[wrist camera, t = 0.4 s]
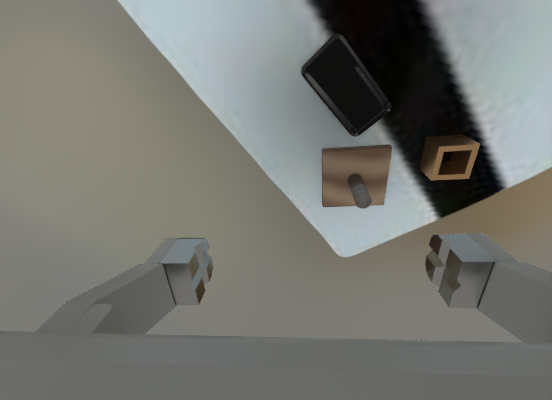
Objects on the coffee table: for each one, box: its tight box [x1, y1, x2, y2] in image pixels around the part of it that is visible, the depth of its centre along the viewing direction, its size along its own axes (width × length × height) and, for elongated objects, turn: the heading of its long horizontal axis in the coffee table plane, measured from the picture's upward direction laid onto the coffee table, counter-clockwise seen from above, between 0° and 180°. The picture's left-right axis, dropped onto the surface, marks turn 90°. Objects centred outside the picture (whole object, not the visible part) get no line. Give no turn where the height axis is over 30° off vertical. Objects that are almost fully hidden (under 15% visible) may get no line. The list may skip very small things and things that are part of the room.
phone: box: [302, 34, 391, 136], centre depth 42 cm, size 8×1×15 cm
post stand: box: [322, 145, 392, 208], centre depth 46 cm, size 12×12×10 cm
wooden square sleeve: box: [419, 135, 480, 180], centre depth 44 cm, size 6×6×5 cm
